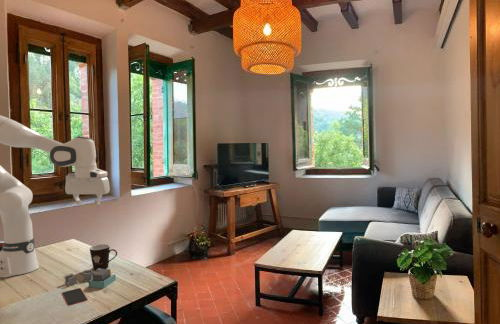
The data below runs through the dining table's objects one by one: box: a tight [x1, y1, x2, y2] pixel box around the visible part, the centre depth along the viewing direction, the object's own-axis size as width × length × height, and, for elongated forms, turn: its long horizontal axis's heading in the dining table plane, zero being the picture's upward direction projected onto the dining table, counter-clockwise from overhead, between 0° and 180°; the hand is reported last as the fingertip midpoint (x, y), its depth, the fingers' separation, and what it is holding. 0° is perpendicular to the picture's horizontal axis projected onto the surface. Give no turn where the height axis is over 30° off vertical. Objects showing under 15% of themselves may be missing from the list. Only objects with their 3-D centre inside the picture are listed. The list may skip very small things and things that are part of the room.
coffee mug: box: [89, 243, 118, 271], centre depth 162 cm, size 12×9×10 cm
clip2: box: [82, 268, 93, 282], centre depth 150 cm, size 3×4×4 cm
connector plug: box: [92, 268, 114, 281], centre depth 147 cm, size 4×10×4 cm, turn 168°
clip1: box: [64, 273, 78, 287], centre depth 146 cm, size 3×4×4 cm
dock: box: [88, 273, 117, 289], centre depth 145 cm, size 7×8×2 cm
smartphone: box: [61, 287, 88, 307], centre depth 134 cm, size 7×1×14 cm
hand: (88, 204), depth 156 cm, fingers open, 8 cm apart
